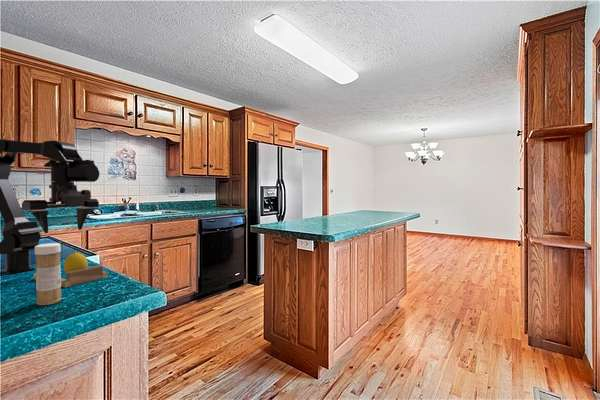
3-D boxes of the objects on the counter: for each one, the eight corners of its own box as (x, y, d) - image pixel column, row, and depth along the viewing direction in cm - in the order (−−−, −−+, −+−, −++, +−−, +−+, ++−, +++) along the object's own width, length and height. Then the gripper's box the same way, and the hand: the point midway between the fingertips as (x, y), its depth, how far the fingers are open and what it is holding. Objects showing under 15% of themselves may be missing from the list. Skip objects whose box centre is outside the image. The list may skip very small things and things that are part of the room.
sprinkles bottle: (46, 299, 72) (44, 242, 71) (66, 298, 72) (65, 242, 72) (30, 306, 67) (29, 246, 67) (52, 305, 67) (51, 246, 67)
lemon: (68, 277, 89) (67, 250, 89) (90, 275, 91) (89, 249, 91) (61, 283, 84) (60, 254, 84) (84, 281, 86) (84, 253, 86)
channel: (33, 279, 88) (33, 267, 88) (75, 270, 98) (75, 259, 98) (65, 287, 80) (65, 274, 80) (107, 276, 90) (107, 265, 90)
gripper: (39, 180, 83) (40, 237, 83) (108, 182, 100) (109, 229, 100) (20, 181, 88) (21, 234, 88) (89, 182, 105) (89, 227, 105)
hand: (63, 231), depth 95 cm, fingers open, 9 cm apart
